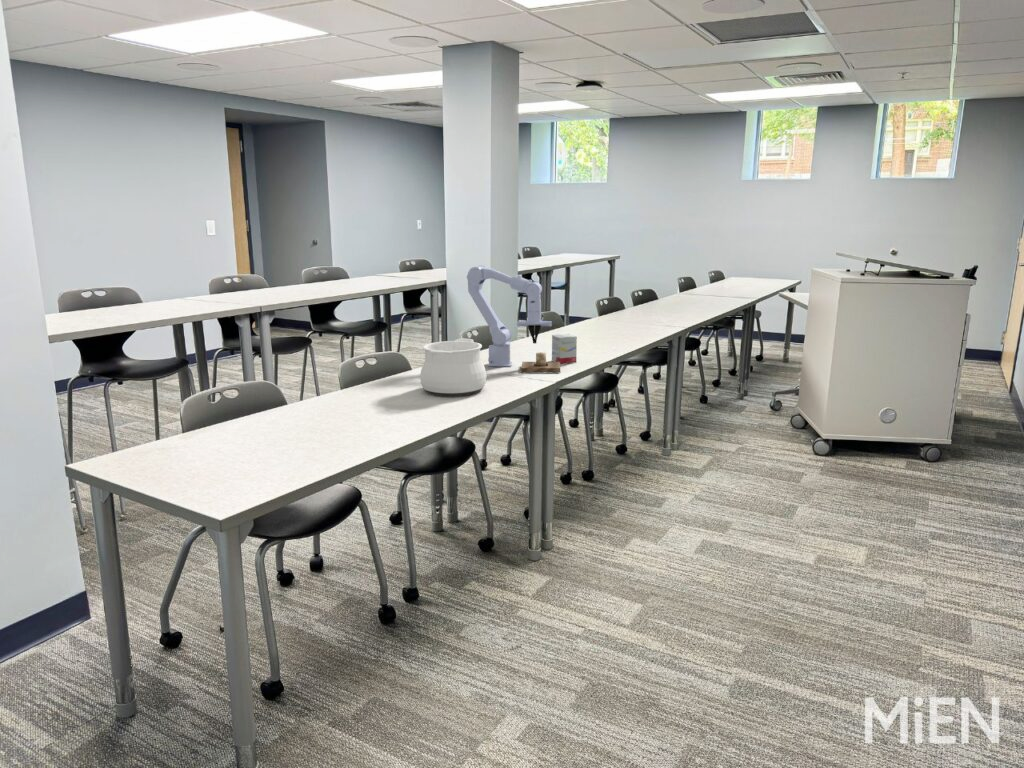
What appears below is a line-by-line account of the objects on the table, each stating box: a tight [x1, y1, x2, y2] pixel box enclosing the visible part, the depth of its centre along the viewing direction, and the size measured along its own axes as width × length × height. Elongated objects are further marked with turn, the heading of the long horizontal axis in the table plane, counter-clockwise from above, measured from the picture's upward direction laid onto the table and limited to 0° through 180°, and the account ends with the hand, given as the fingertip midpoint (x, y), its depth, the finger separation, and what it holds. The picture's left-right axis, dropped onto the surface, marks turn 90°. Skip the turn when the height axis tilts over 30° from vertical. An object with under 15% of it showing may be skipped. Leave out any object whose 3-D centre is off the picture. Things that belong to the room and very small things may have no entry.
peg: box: [535, 351, 547, 366], centre depth 300 cm, size 4×4×7 cm
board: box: [520, 361, 561, 373], centre depth 301 cm, size 16×13×2 cm
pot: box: [419, 338, 487, 398], centre depth 265 cm, size 28×24×17 cm
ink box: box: [551, 333, 578, 365], centre depth 316 cm, size 9×9×12 cm
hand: (534, 343), depth 305 cm, fingers closed
